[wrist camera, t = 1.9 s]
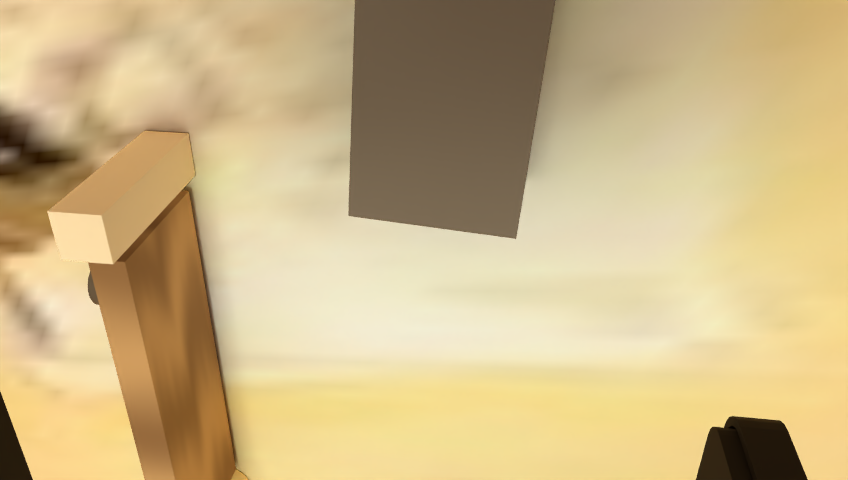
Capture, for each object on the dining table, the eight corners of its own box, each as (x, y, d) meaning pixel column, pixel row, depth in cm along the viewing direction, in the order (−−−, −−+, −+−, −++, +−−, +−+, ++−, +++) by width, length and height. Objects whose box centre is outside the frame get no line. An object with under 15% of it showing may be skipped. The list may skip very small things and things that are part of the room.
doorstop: (384, -55, 22) (355, -29, 19) (553, -37, 22) (556, -7, 18) (374, 161, 26) (348, 215, 22) (519, 179, 25) (515, 238, 22)
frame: (139, 130, 26) (40, 210, 21) (194, 133, 26) (108, 216, 21) (220, 541, 37) (169, 660, 32) (259, 546, 37) (214, 667, 32)
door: (125, 186, 27) (50, 256, 23) (188, 191, 27) (124, 262, 22) (185, 463, 34) (136, 553, 30) (236, 468, 34) (193, 561, 30)
